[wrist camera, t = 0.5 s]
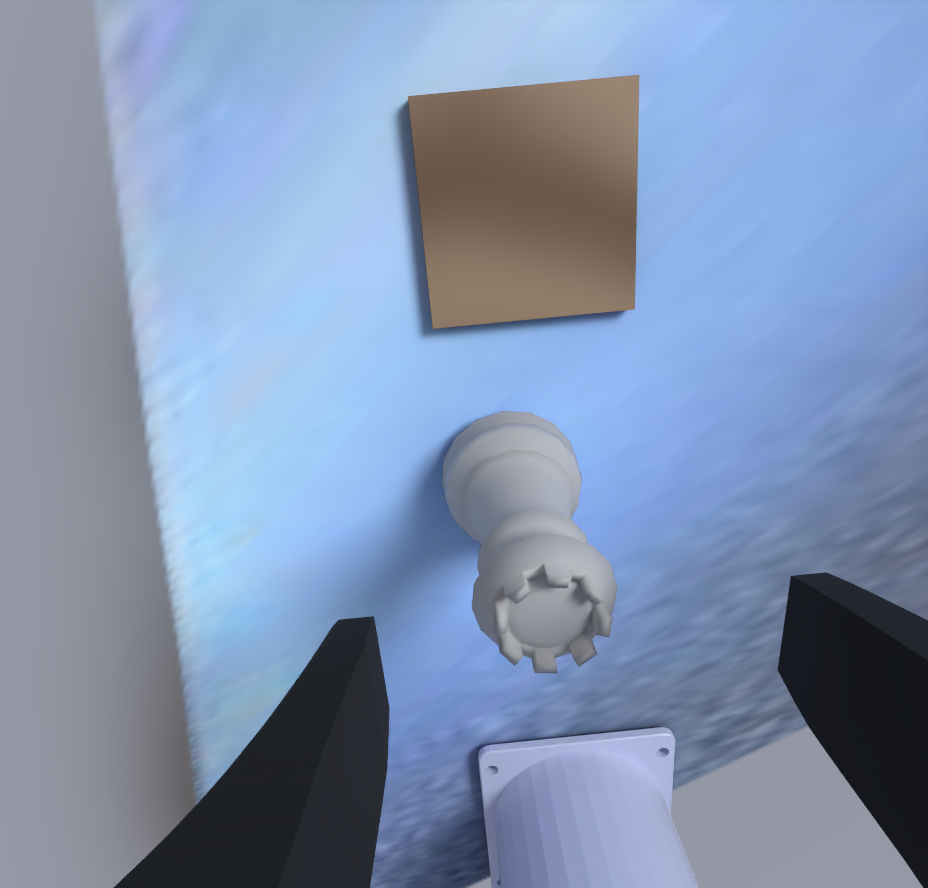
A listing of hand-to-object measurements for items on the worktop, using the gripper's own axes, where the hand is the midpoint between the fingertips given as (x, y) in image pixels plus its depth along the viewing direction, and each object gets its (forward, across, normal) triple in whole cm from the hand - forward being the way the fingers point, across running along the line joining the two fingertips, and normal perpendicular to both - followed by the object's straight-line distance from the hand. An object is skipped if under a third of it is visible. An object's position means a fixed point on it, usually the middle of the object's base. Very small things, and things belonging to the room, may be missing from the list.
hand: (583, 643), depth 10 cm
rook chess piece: (+10, 0, +1) cm, 10 cm away
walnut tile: (+10, -1, -7) cm, 12 cm away
